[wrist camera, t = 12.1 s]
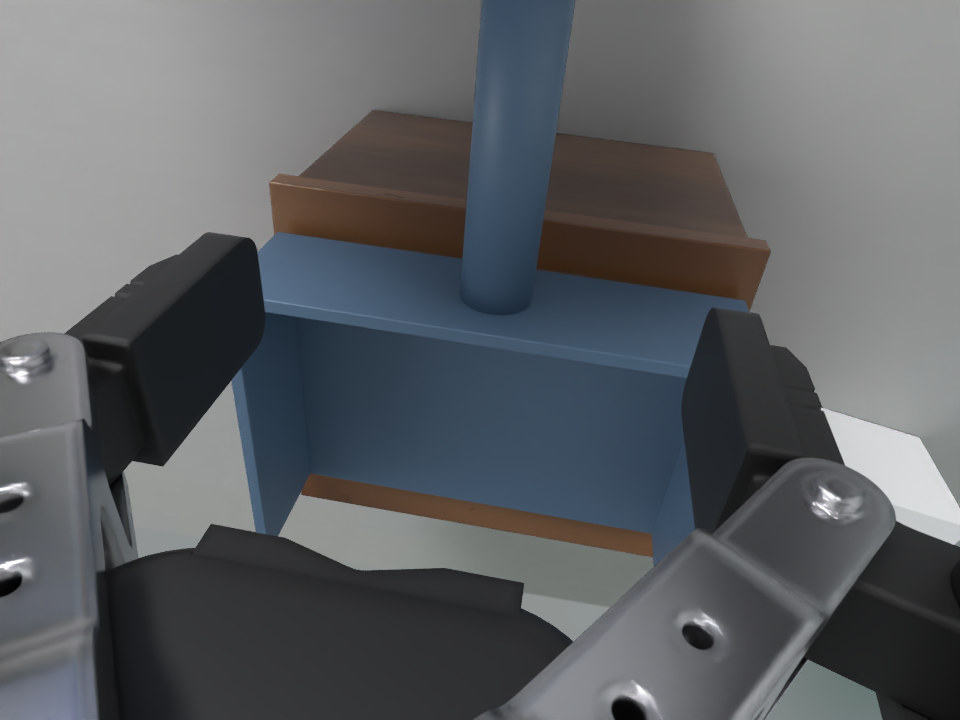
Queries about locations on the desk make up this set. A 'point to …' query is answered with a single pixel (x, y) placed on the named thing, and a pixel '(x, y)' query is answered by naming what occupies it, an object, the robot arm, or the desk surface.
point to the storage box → (563, 248)
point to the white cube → (899, 474)
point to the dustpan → (477, 342)
